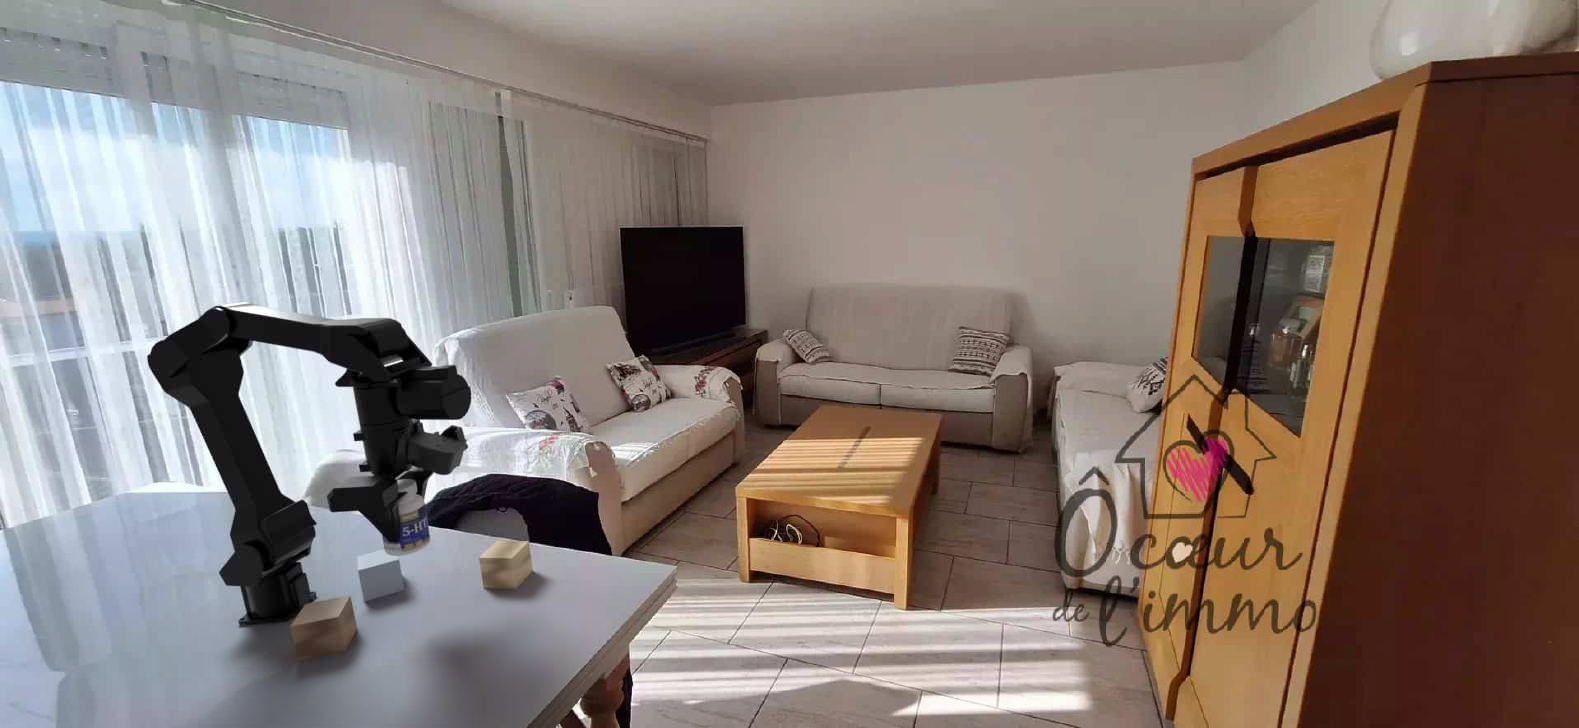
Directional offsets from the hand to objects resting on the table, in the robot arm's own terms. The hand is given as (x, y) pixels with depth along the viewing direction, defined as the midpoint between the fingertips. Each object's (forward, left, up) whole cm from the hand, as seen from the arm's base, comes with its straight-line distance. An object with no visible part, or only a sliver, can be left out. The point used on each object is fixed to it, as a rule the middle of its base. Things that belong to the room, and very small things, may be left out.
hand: (405, 531), depth 84 cm
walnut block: (-9, -5, -13) cm, 16 cm away
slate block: (-9, +8, -13) cm, 18 cm away
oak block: (+9, +8, -13) cm, 17 cm away
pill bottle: (0, 0, -2) cm, 2 cm away
